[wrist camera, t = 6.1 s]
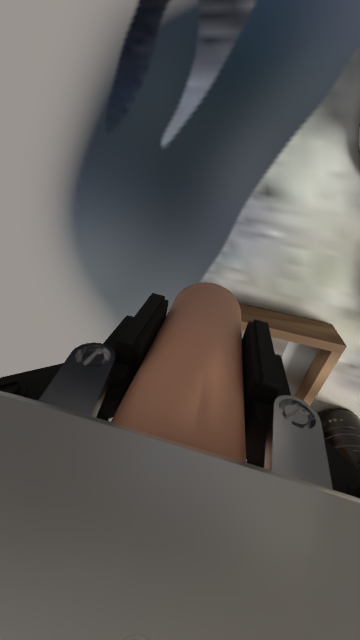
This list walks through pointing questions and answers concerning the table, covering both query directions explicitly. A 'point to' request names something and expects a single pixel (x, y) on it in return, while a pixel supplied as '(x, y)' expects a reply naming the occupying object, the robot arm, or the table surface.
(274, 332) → the wooden rectangular frame
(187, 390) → the peg
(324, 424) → the supplement bottle
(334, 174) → the table surface
